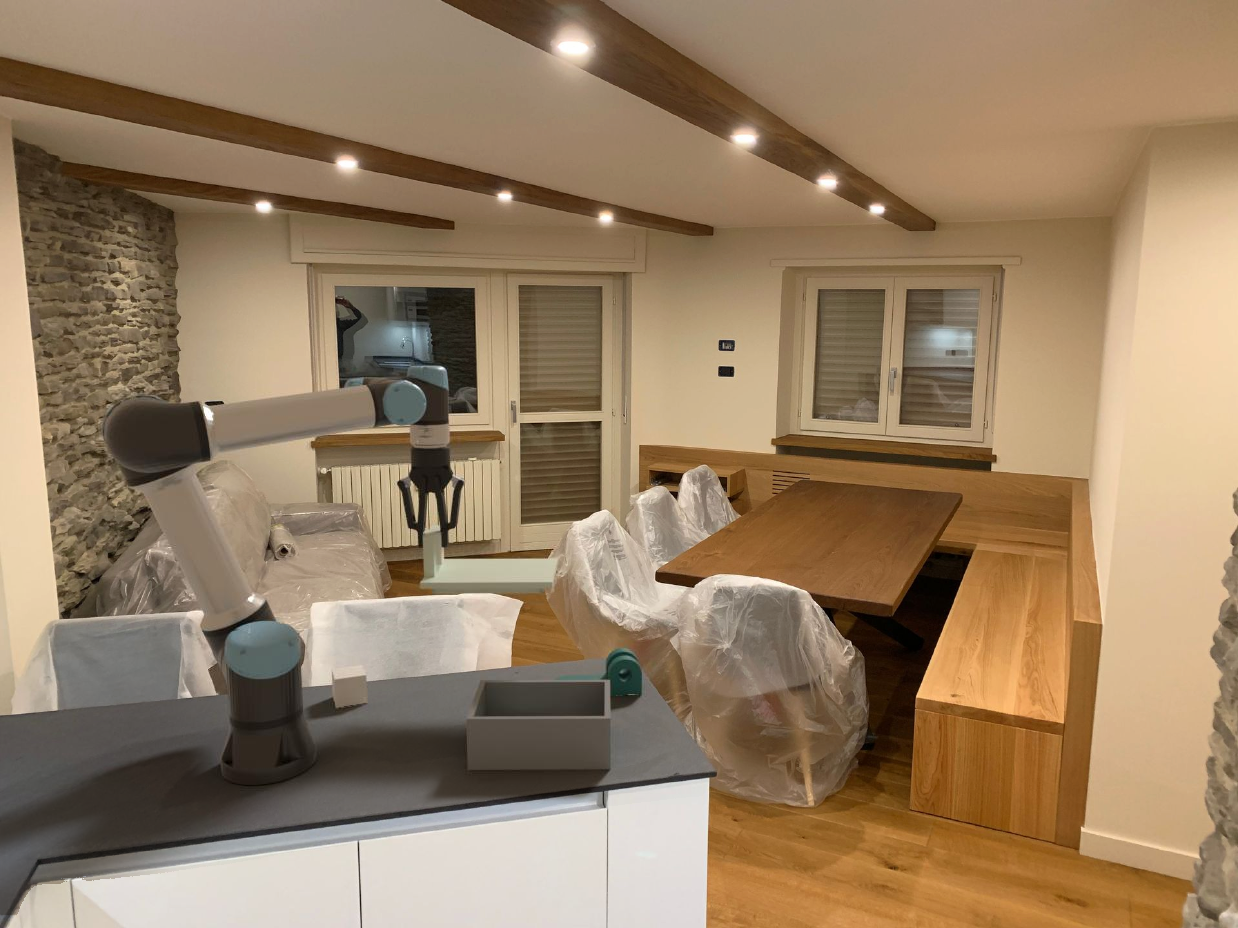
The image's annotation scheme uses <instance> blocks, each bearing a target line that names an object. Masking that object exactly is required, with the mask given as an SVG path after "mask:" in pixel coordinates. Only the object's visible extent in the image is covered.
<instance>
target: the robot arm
mask: <svg viewBox="0 0 1238 928" xmlns="http://www.w3.org/2000/svg"><path fill="white" fill-rule="evenodd" d="M343 386H344V387H341V388H339V387H338V388H334V389H327V390H319V391H311V392H305V393H297V394H290V395H282V396H281V395H280V396H274V397H269V398H268V397H267V398H260V399H253V400H246V401H245V400H244V401H237V402H231V403H223V404H217V405H214V404H213V405H207V404H206V403H204V402H203V401H202V400H195V401H191V402H190V401H189V402H167V401H166V400H164V399H162V398H159V397H157V396H154V395H151V394H150V395H146V394H137V395H135V396H129V397H125V399H121V400H120V401H118V402H117V403H115V404H114V405H112V407H110V409H109V410H108V411H107V413H106V415H104V419H103V422H102V427H101V429H102V430H101V431H102V432H101V433H102V439H103V441H104V443H105V445H106V448H107V450H108V451H109V454H110V455H111V457H112V458H113V459H114V461H115V463H116V465H117V467H118V468H119V471H120V473H121V474H122V476H123V478H124V481H125V483H126V484H127V486H128V489H132V490H134V491H138V492H140V493H142V494H143V495H144V496H143V497H145V500H146V501H147V504H148V506H149V507H150V509H151V511H152V513H153V515H154V517H155V519H156V522H157V523H158V525H159V528H160V529H161V531H162V533H163V535H164V537H165V539H166V540H167V543H168V545H169V547H170V549H171V551H172V552H173V555H174V557H175V559H176V561H177V563H178V565H179V567H180V569H181V571H182V573H183V575H184V577H185V579H186V581H187V582H188V585H189V587H190V589H191V590H192V593H193V595H194V597H195V599H196V601H197V603H198V605H199V607H200V609H201V610H202V613H203V617H202V618H201V621H200V623H199V627H200V628H199V629H200V630H201V632H202V634H203V637H204V638H205V641H206V642H207V643H208V645H209V648H210V649H211V652H212V655H213V657H214V659H215V662H217V664H218V665H219V669H220V670H221V673H222V675H223V678H224V679H225V681H226V687H227V688H226V689H227V700H228V701H227V702H228V703H227V704H228V714H229V715H228V716H229V728H228V732H227V735H226V738H225V742H224V745H223V748H222V753H221V756H220V773H221V776H222V777H223V778H224V780H226V781H228V782H231V783H234V784H237V785H247V786H258V785H268V784H274V783H278V782H282V781H286V780H288V779H289V780H290V779H293V778H294V777H296V776H299V775H301V774H302V773H304V772H306V771H307V770H308V769H310V768H311V767H312V766H313V765H314V764H315V762H316V761H317V745H316V742H315V738H314V737H313V735H312V732H311V729H310V726H309V725H308V723H307V720H306V718H305V715H304V701H303V678H302V663H301V662H302V659H301V657H302V656H301V655H302V644H301V641H300V637H299V633H298V631H297V629H295V628H294V626H292V625H289V624H287V623H285V622H282V623H280V621H277V619H276V617H275V615H274V613H273V610H272V609H271V608H272V607H271V606H270V605H269V603H268V600H267V598H266V596H265V595H264V594H260V593H258V592H254V591H253V590H252V588H251V586H250V583H249V581H248V579H247V577H246V575H245V573H244V571H243V569H242V567H241V565H240V564H239V560H238V559H237V557H236V555H235V553H234V550H233V548H232V547H231V545H230V542H229V540H228V538H227V536H226V534H225V531H224V530H223V528H222V526H221V524H220V522H219V521H220V520H218V517H217V514H215V512H214V509H213V507H212V505H211V503H210V501H209V499H208V496H207V494H206V492H205V490H204V488H203V486H202V485H201V482H200V480H199V478H198V476H197V473H196V470H197V468H198V465H199V463H205V462H210V461H213V460H214V459H215V458H216V456H217V455H218V454H221V453H226V452H227V453H228V452H232V451H238V450H244V449H251V448H257V447H262V446H269V445H275V444H281V443H288V442H293V441H299V440H305V439H311V438H317V437H324V436H329V435H335V434H342V433H347V432H348V433H349V432H353V431H354V432H355V431H359V430H365V429H371V428H379V427H381V428H382V427H387V426H392V425H397V426H402V427H403V426H409V441H410V444H411V445H412V447H411V448H410V467H411V468H410V470H409V473H408V476H406V477H404V478H400V479H399V480H397V481H396V485H397V487H398V488H399V490H400V492H401V496H402V502H403V507H404V513H405V518H406V519H405V520H406V524H407V528H408V529H409V530H414V531H416V532H417V546H418V548H419V549H420V548H421V549H423V536H424V535H425V534H426V532H427V531H428V530H429V529H426V528H427V525H426V524H427V514H428V513H427V511H428V510H427V509H428V500H429V499H428V498H429V493H433V494H434V497H435V499H436V500H435V501H436V506H437V507H436V508H437V513H438V515H437V516H438V521H439V525H440V530H439V531H438V532H437V553H438V565H442V564H443V562H444V559H445V554H444V553H445V550H444V549H445V548H447V547H448V546H449V544H450V543H449V542H450V541H449V539H450V537H449V531H450V530H452V529H453V530H454V529H455V528H456V527H457V526H458V523H459V514H460V506H461V497H462V490H463V488H464V486H465V485H466V479H465V478H463V477H462V478H461V477H458V476H456V475H454V471H453V469H452V467H451V447H450V446H449V445H448V444H449V443H450V442H451V438H450V436H451V435H450V420H449V417H450V415H449V413H450V412H449V410H450V409H449V405H450V404H449V401H450V400H449V399H450V398H449V391H450V388H449V378H448V372H447V369H446V368H445V367H444V366H441V365H417V366H416V365H411V366H409V367H408V369H407V373H406V376H400V377H386V376H385V377H383V376H382V377H381V376H380V377H365V376H364V377H363V376H362V377H358V378H349V379H348V380H347V381H346V382H345V384H344V385H343ZM411 482H412V483H413V485H414V486H415V487H416V489H417V490H418V510H417V520H416V513H415V508H414V503H413V497H412V491H411V486H412V484H411ZM450 482H451V483H452V484H451V487H452V488H454V489H453V492H452V499H451V500H452V501H451V509H450V517H449V520H448V512H447V505H446V504H447V503H446V498H445V495H446V494H445V489H446V488H447V486H448V485H449V484H450Z"/></svg>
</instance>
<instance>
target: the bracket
mask: <svg viewBox="0 0 1238 928" xmlns="http://www.w3.org/2000/svg"><path fill="white" fill-rule="evenodd" d="M642 671H643V670H642V668H641V665H640V663H639V660H638V656H637V655H636V654H635V652H634V651H632V650H631V649H629V648H626V647H619V648H616V649H614V650H612V651H611V652H610V653H609V654H608V656H607V657H606V660H605V673H602V674H583V675H581V674H579V675H577V674H575V675H563V676H559V677H558V676H557V677H556V678H553V680H610V697H617V696H616V695H628V694H635V695H634V696H642V695H643V672H642ZM636 694H638V695H636Z"/></svg>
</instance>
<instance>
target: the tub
mask: <svg viewBox="0 0 1238 928" xmlns="http://www.w3.org/2000/svg"><path fill="white" fill-rule="evenodd" d="M465 723H466V751H467V752H466V754H467V755H466V757H467V762H466V763H467V764H466V765H467V771H501V770H502V771H514V770H515V771H516V770H517V771H519V770H524V771H525V770H528V771H529V770H531V771H532V770H537V771H539V770H540V771H543V770H545V771H546V770H552V771H553V770H611V696H610V680H554V679H513V680H512V679H511V680H510V679H499V680H498V679H495V680H494V679H493V680H492V679H491V680H488V679H487V680H485V679H483V680H481V679H480V681H479V682H478V686H477V689H476V691H475V694H474V697H473V700H472V702H471V705H470V708H469V712H468V714H467V716H466V722H465Z"/></svg>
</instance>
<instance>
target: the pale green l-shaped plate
mask: <svg viewBox="0 0 1238 928" xmlns="http://www.w3.org/2000/svg"><path fill="white" fill-rule="evenodd" d="M427 530H428V531H427V532H426V534H425V535H424V536H423V548H422V551H423V552H422V553H423V556H422V557H423V577H422V579H421V580H420V582H419V590H420V589H421V590H431V593H432V594H435V595H436V594H437V595H441V594H452V595H453V594H455V595H456V594H461V595H462V594H468V595H469V594H544V591H545V590H546V589H553V588H554V583H555V578H556V574H557V569H558V565H559V558H557V557H556V558H555V557H554V558H444V562H443V564H442V565H438V553H437V532H438V531H439V530H440V524H439V525H435V524H433V525H432V526H431V527H430V528H429V529H427Z"/></svg>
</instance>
